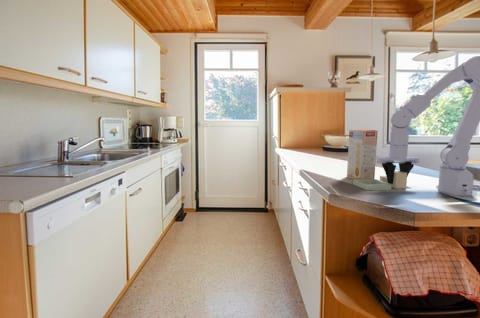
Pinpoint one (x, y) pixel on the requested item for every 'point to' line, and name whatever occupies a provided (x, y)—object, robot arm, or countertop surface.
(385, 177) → the grey pebble
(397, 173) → the sandstone block
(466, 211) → the countertop surface
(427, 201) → the countertop surface
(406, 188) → the slate board
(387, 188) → the sage tray
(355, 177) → the cracker box
